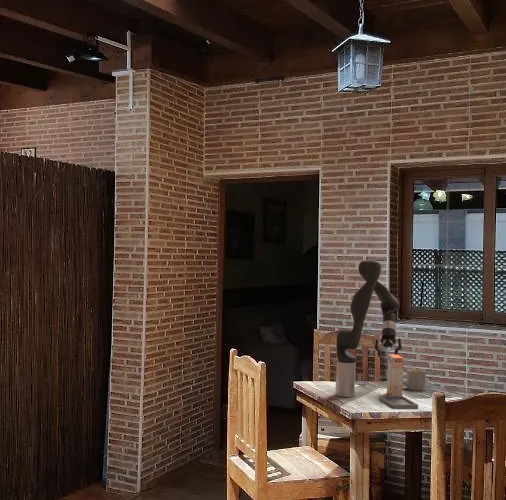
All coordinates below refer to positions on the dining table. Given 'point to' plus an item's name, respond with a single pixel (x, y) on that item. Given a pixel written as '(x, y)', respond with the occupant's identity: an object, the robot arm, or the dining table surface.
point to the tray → (398, 402)
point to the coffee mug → (415, 379)
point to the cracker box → (395, 375)
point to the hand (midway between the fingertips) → (387, 356)
